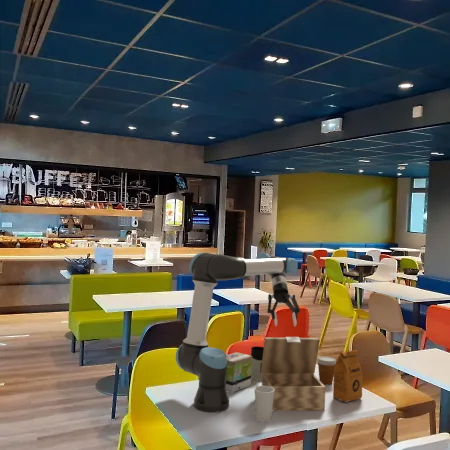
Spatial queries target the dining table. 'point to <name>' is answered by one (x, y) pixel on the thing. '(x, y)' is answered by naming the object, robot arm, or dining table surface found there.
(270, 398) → the cup
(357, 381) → the coffee package
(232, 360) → the tea box
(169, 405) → the dining table surface
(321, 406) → the wooden box
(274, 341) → the box lid
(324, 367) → the disposable coffee cup
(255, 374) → the glass holder
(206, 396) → the robot arm
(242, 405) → the dining table surface
